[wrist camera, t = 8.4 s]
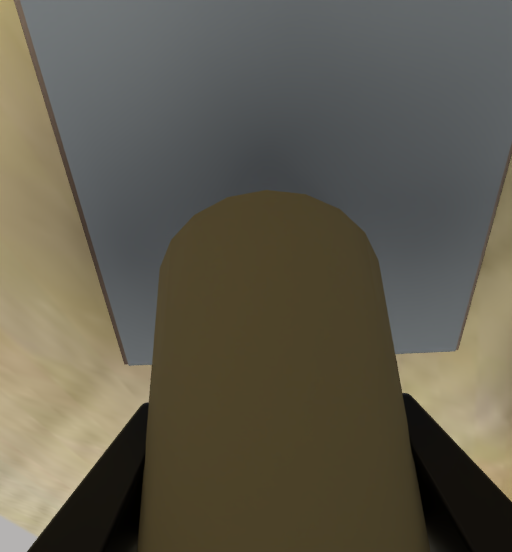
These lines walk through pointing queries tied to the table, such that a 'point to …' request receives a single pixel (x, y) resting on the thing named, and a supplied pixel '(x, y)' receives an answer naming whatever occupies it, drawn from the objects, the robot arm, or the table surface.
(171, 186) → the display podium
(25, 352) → the table surface
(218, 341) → the brown rounded upright piece
